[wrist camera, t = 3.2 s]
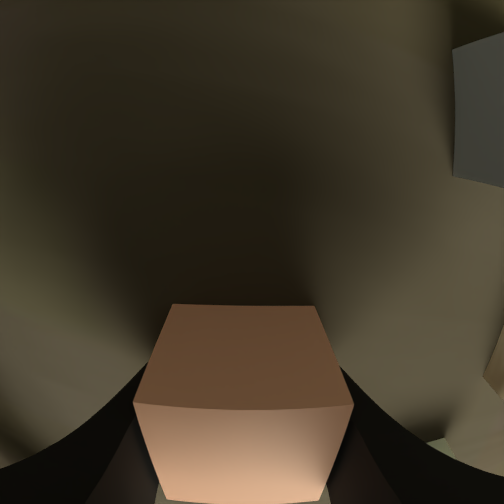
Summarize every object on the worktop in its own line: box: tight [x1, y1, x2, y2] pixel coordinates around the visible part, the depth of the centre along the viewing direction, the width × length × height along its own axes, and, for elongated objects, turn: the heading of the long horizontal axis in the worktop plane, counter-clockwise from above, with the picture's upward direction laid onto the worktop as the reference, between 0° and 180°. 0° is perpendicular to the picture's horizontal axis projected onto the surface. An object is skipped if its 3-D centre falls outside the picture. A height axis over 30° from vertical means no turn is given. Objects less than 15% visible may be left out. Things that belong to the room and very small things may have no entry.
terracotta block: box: [133, 304, 354, 504], centre depth 9 cm, size 4×4×4 cm
